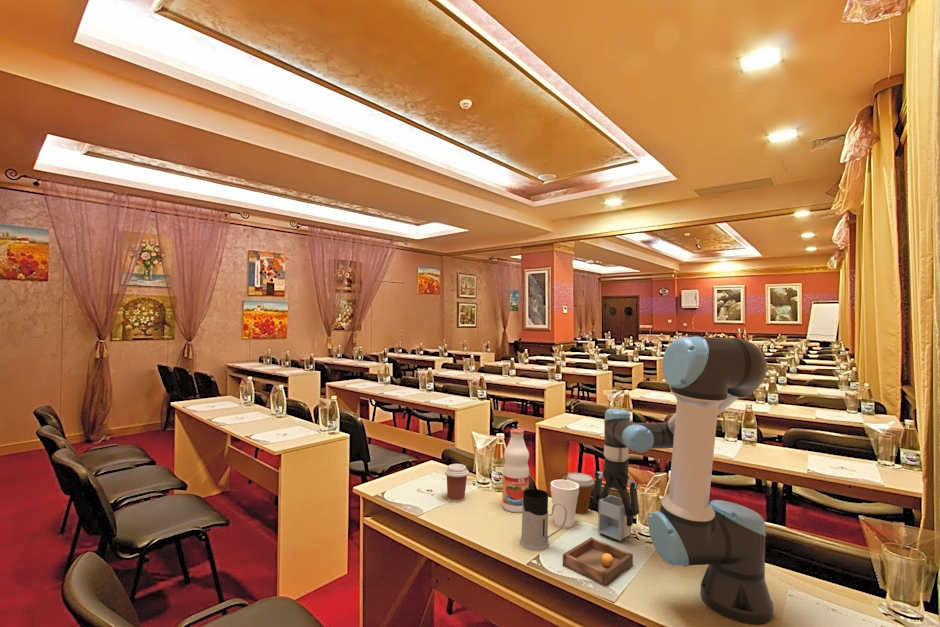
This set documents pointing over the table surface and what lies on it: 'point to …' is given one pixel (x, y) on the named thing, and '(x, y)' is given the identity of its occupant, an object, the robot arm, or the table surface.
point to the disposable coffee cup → (582, 490)
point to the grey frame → (611, 517)
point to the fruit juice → (515, 472)
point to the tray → (597, 561)
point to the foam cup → (564, 501)
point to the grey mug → (536, 519)
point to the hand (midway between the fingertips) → (614, 530)
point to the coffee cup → (456, 482)
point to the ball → (607, 559)
